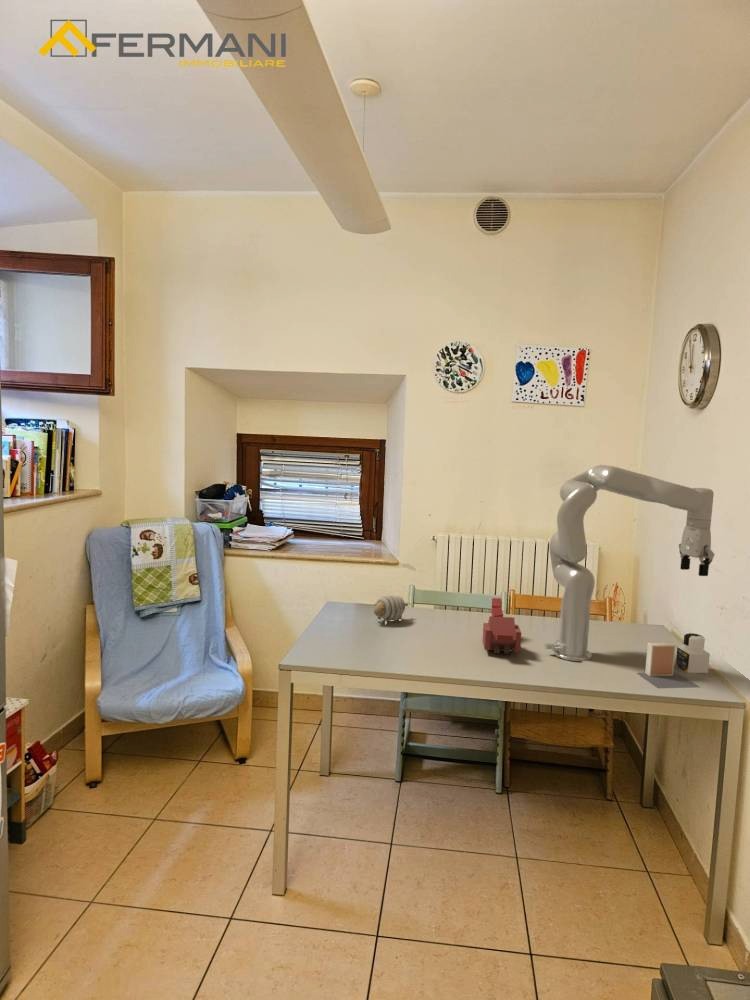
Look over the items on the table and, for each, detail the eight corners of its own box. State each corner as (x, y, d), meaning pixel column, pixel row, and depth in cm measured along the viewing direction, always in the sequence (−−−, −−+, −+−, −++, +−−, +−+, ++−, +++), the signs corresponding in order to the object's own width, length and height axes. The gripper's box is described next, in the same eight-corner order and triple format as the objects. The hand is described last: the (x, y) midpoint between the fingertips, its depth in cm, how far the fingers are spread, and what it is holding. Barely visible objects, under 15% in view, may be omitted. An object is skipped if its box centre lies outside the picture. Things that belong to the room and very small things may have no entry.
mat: (657, 690, 188) (657, 688, 188) (635, 674, 200) (636, 672, 200) (700, 688, 190) (700, 687, 190) (676, 673, 202) (676, 671, 202)
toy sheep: (365, 622, 245) (366, 595, 244) (395, 614, 257) (396, 588, 256) (385, 629, 238) (386, 600, 237) (414, 620, 250) (415, 593, 249)
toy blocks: (515, 667, 222) (510, 605, 237) (524, 641, 206) (517, 576, 222) (481, 666, 223) (477, 604, 238) (487, 640, 207) (483, 575, 222)
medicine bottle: (675, 666, 209) (678, 631, 208) (695, 666, 209) (698, 631, 208) (687, 674, 202) (690, 638, 201) (708, 674, 202) (711, 638, 201)
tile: (649, 676, 198) (652, 645, 197) (645, 673, 200) (647, 642, 199) (673, 675, 199) (675, 645, 198) (668, 672, 201) (670, 642, 200)
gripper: (672, 520, 223) (668, 567, 225) (705, 527, 206) (700, 578, 208) (692, 520, 225) (687, 567, 226) (725, 527, 208) (720, 578, 209)
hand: (693, 572), depth 217 cm, fingers open, 9 cm apart
